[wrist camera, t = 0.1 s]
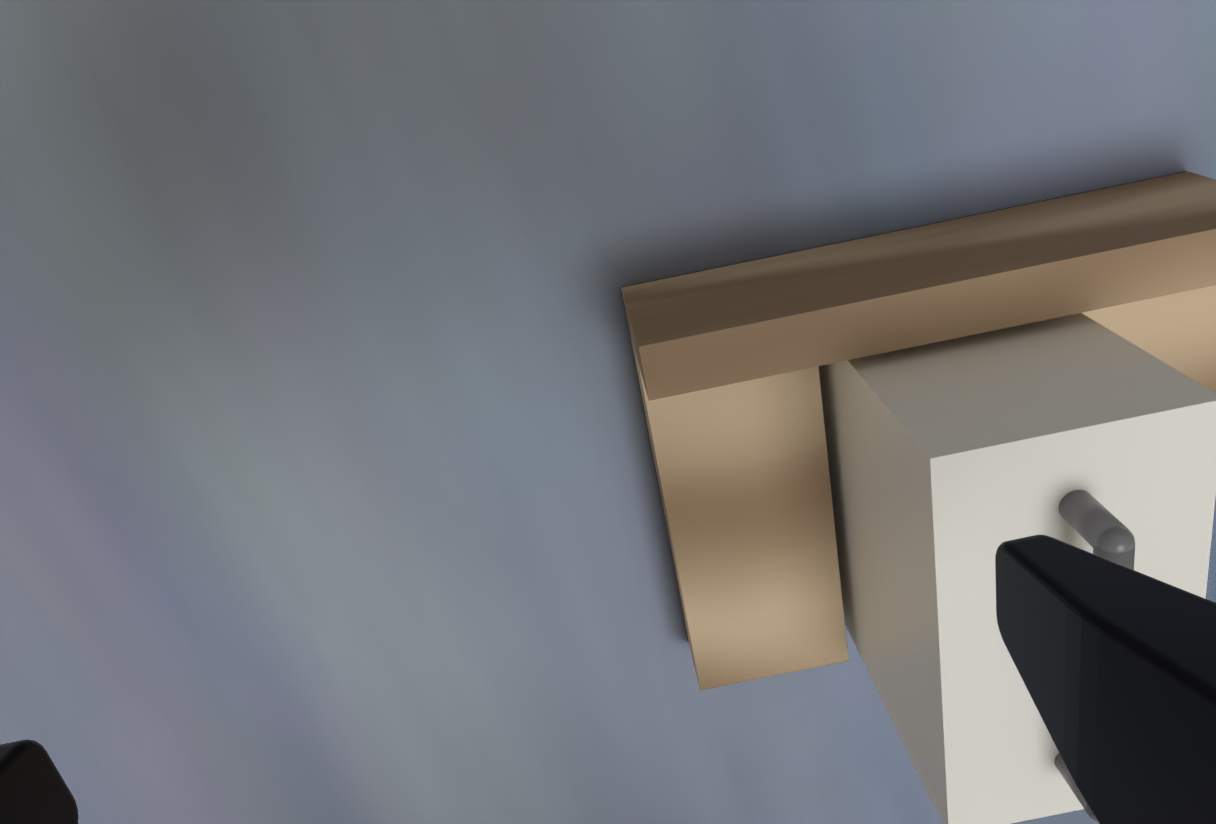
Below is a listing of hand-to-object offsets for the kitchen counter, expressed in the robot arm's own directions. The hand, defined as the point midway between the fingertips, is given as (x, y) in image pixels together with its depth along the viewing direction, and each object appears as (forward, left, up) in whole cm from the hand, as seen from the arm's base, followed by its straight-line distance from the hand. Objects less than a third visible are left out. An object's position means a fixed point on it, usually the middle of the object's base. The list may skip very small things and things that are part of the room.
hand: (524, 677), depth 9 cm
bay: (-7, -9, -14) cm, 18 cm away
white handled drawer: (-7, -9, -15) cm, 19 cm away
